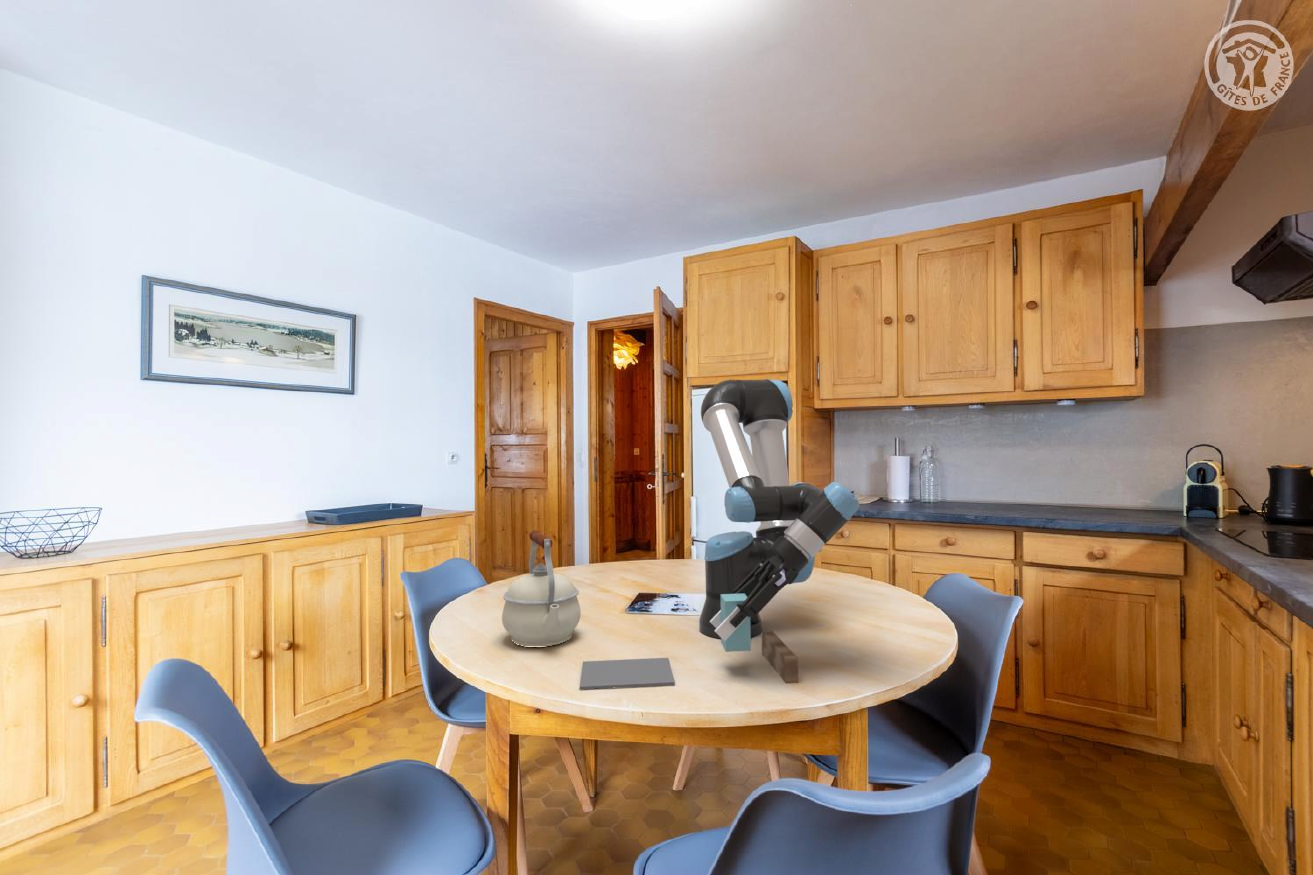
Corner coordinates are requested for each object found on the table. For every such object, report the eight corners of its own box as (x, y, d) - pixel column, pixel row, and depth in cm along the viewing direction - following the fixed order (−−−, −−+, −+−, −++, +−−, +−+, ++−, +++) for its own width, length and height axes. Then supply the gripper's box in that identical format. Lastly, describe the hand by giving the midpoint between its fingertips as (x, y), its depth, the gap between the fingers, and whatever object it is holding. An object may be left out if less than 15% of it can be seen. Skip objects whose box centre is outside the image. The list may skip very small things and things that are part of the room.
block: (721, 642, 123) (720, 594, 123) (745, 641, 123) (744, 593, 123) (725, 651, 118) (725, 601, 118) (750, 650, 118) (750, 600, 118)
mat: (582, 664, 125) (582, 661, 125) (668, 660, 127) (668, 657, 127) (579, 689, 112) (579, 686, 112) (674, 685, 114) (674, 682, 114)
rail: (762, 654, 130) (761, 631, 130) (772, 654, 130) (772, 631, 130) (785, 684, 114) (785, 658, 114) (798, 683, 114) (797, 657, 114)
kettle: (496, 630, 149) (494, 530, 149) (567, 620, 156) (566, 525, 156) (513, 664, 126) (511, 546, 126) (597, 651, 133) (595, 539, 133)
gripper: (825, 570, 112) (739, 660, 112) (795, 550, 130) (722, 628, 130) (797, 542, 112) (711, 633, 111) (771, 526, 130) (697, 605, 129)
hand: (717, 630), depth 120 cm, fingers closed on block, 5 cm apart
